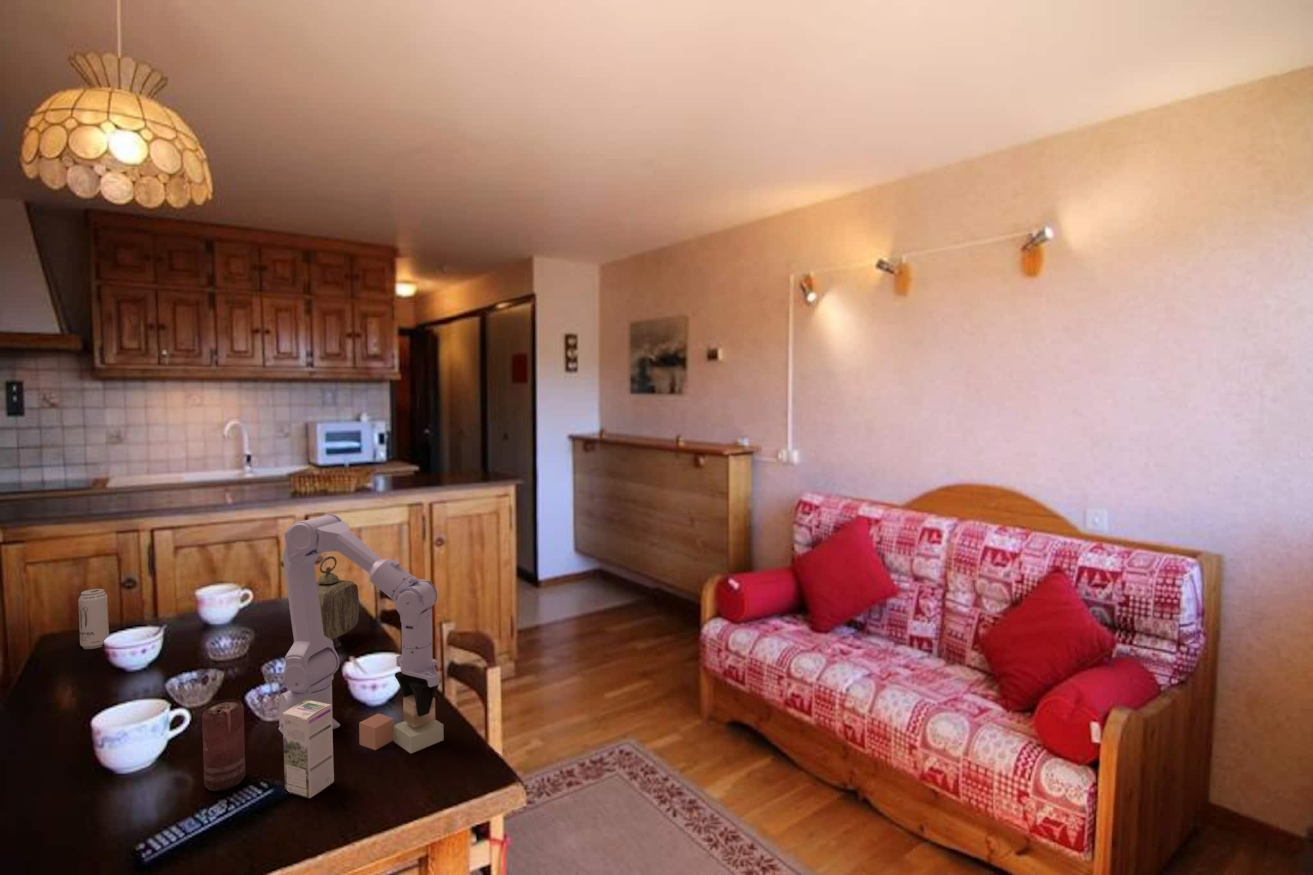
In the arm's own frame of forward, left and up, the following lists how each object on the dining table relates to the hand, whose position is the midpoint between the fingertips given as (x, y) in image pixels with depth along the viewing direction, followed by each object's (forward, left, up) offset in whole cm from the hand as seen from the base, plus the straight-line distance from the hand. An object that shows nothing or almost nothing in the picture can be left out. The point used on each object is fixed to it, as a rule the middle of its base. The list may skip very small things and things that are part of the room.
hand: (417, 710), depth 134 cm
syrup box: (-21, -2, -6) cm, 22 cm away
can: (-31, +10, -6) cm, 33 cm away
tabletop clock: (+6, +63, -6) cm, 64 cm away
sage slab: (0, 0, -6) cm, 7 cm away
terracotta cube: (-6, +5, -6) cm, 10 cm away
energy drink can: (-39, +108, -6) cm, 115 cm away
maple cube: (0, 0, -2) cm, 2 cm away
